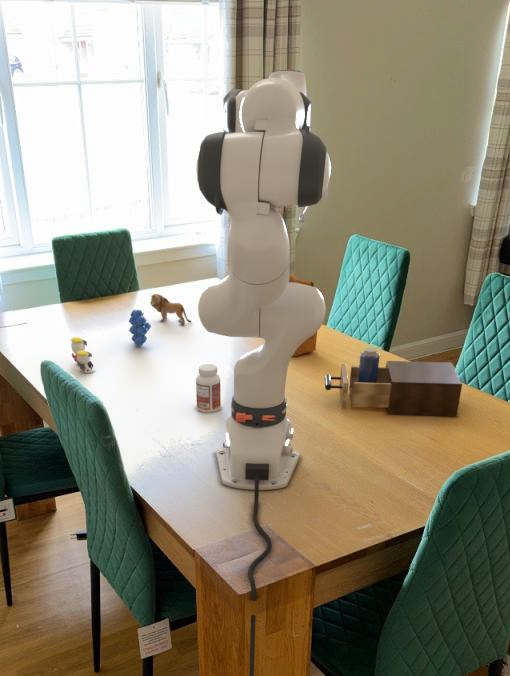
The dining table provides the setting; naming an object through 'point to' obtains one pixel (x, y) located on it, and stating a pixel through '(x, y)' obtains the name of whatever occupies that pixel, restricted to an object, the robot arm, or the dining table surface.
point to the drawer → (362, 388)
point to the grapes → (138, 327)
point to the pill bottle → (208, 388)
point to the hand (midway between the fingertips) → (281, 221)
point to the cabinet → (423, 388)
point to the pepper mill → (368, 366)
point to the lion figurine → (168, 308)
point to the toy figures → (81, 354)
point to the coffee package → (310, 343)
